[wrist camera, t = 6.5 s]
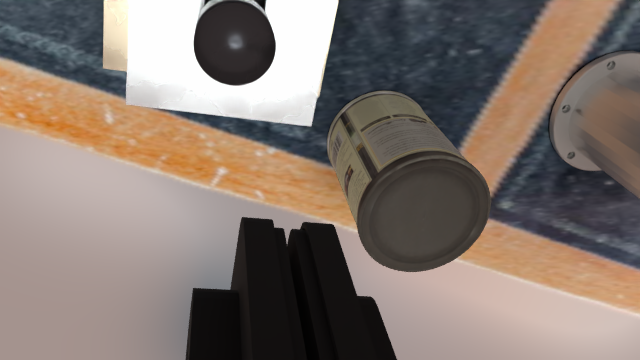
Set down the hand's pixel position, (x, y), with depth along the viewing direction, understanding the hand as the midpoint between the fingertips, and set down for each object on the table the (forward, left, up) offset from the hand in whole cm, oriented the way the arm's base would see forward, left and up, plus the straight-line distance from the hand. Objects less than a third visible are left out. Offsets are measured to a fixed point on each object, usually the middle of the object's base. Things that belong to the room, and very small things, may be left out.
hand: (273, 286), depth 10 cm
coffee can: (-16, +13, -39) cm, 44 cm away
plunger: (0, 0, -33) cm, 33 cm away
